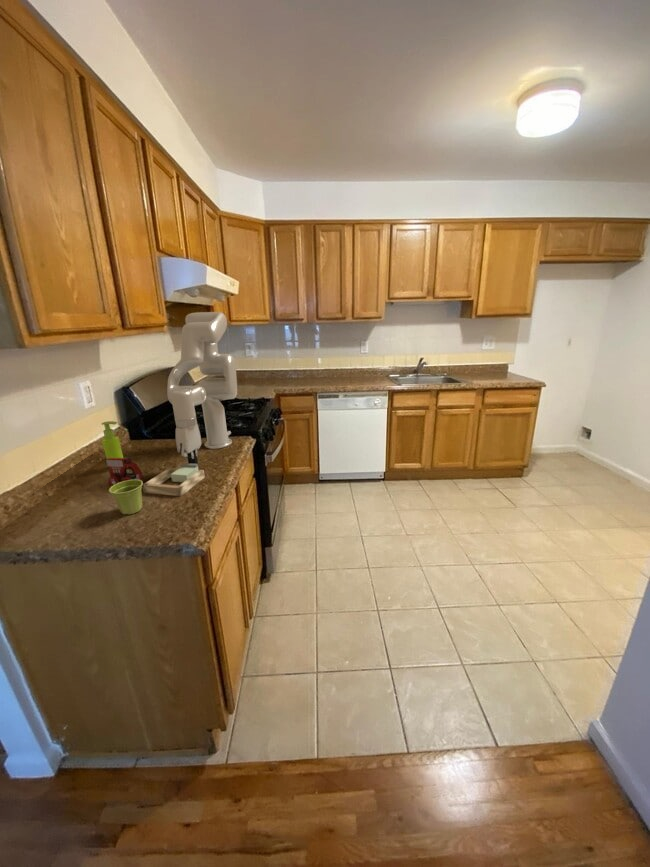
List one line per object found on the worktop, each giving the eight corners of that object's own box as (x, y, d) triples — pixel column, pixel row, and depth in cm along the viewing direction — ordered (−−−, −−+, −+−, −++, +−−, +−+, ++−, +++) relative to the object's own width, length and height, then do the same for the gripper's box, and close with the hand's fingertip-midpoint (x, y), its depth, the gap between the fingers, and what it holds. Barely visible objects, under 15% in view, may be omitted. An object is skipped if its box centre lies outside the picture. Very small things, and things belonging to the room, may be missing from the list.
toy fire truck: (136, 488, 128) (130, 462, 125) (105, 487, 130) (99, 461, 127) (148, 480, 135) (142, 455, 131) (118, 479, 136) (112, 454, 133)
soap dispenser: (123, 470, 144) (111, 423, 138) (106, 471, 144) (94, 424, 138) (130, 464, 150) (120, 419, 143) (114, 465, 150) (103, 420, 143)
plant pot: (111, 510, 114) (105, 486, 111) (141, 499, 120) (136, 476, 117) (121, 521, 108) (114, 496, 105) (152, 509, 114) (147, 485, 111)
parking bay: (170, 474, 139) (169, 467, 138) (204, 477, 135) (203, 470, 134) (144, 492, 125) (142, 484, 124) (181, 496, 122) (179, 488, 121)
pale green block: (184, 473, 140) (182, 463, 139) (199, 474, 139) (197, 463, 138) (172, 482, 133) (170, 471, 131) (187, 483, 132) (185, 472, 130)
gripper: (189, 416, 142) (196, 458, 148) (165, 427, 129) (173, 473, 135) (205, 417, 141) (212, 459, 147) (183, 428, 127) (191, 474, 133)
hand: (193, 466), depth 141 cm, fingers closed
